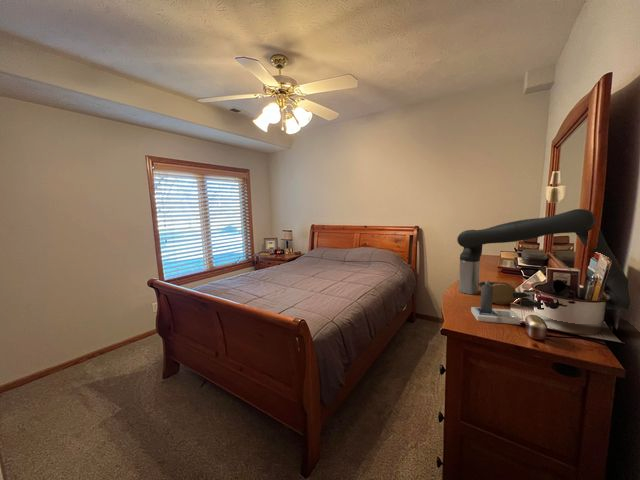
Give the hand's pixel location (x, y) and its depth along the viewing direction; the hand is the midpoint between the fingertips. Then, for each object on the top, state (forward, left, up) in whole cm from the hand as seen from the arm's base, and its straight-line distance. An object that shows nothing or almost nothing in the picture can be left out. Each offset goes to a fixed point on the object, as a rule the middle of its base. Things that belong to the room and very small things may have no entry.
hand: (516, 299), depth 105 cm
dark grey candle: (+1, -11, -8) cm, 14 cm away
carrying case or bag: (-41, +6, -9) cm, 43 cm away
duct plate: (+1, -7, -8) cm, 11 cm away
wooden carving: (-17, +1, -8) cm, 19 cm away
